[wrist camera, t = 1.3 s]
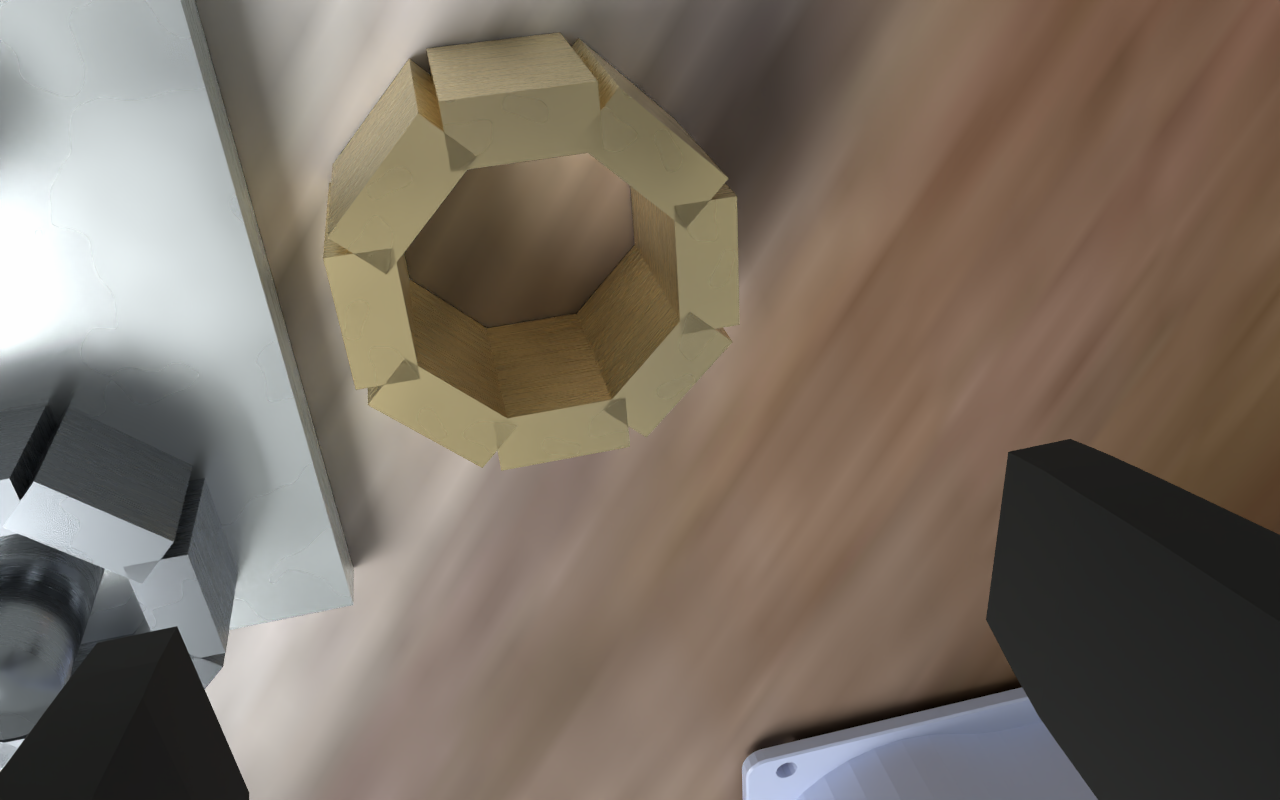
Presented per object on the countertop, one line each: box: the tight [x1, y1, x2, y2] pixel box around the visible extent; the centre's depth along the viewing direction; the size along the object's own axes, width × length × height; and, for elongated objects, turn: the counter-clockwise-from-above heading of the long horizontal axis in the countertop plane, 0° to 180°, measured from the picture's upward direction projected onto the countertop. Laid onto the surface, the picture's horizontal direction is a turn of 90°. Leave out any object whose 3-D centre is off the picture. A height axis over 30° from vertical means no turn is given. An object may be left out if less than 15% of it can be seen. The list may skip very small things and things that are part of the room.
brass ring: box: [323, 32, 739, 471], centre depth 16 cm, size 6×6×3 cm
